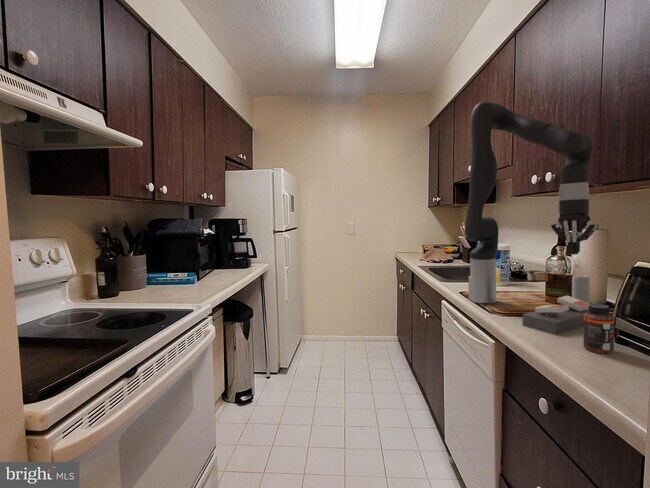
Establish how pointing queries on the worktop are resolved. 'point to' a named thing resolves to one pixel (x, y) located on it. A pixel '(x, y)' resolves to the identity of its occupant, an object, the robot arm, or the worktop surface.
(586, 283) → the beverage can
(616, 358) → the worktop surface
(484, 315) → the worktop surface
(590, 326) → the supplement bottle
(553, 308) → the rocker outlet
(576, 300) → the rocker outlet
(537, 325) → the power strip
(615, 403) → the worktop surface
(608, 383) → the worktop surface
